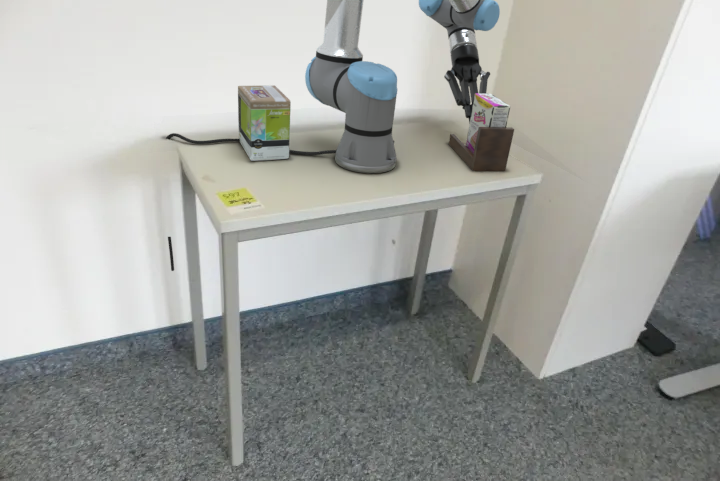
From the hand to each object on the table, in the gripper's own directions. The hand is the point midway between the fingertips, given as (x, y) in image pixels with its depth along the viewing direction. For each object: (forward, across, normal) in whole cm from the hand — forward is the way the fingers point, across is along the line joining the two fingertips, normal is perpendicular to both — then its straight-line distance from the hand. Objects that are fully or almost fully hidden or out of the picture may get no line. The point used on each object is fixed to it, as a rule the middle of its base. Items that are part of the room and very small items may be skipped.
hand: (474, 128), depth 150 cm
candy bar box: (+10, 0, 0) cm, 10 cm away
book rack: (+7, 0, +2) cm, 7 cm away
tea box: (+5, -56, +5) cm, 56 cm away
